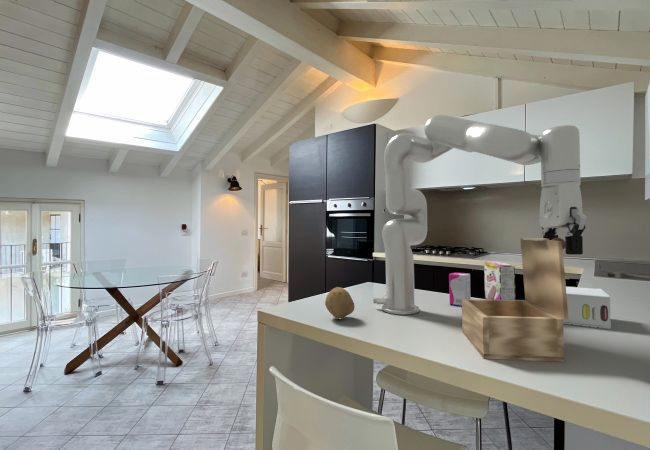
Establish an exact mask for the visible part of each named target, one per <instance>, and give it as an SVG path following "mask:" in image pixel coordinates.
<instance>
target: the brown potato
mask: <svg viewBox="0 0 650 450" xmlns="http://www.w3.org/2000/svg"><path fill="white" fill-rule="evenodd" d="M324 305H325V308H326V309H327V311H328V312H329V313H330V314H331V315H332V317H333V318H335V319H337V318H343V319H345V318H346V317H347V316H348V315H350V314H352V313H353V312H354V311H355V302H354V300H353V298H352V297H351V295H350V293H349V292H348V291H347V290H346V289H345V288H344V287H341V286H340V287H339V286H336V287H334V288H332V289H331V290H330V291H329V292H328V293H327V295H326V297H325V302H324Z"/></svg>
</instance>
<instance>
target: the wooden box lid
mask: <svg viewBox="0 0 650 450" xmlns="http://www.w3.org/2000/svg"><path fill="white" fill-rule="evenodd" d="M519 242H520V248H521V249H520V251H521V262H522V264H521V265H522V275H523V286H524V289H523V290H524V300H526V301H528V302H530V303H532V304H534V305H536V306H539V307H541V308H543V309H545V310H547V311H549V312H551V313H553V314H555V315H557V316H559V317H561V318H563V319H569V318H568V306H567V295H566V287H567V284H566V274H565V261H564V253H563V252H564V250H565V239H563V238H561V237H558V238H553V239H552V240H549V239H546V238H543V237H520V241H519Z"/></svg>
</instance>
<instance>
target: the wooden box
mask: <svg viewBox="0 0 650 450" xmlns="http://www.w3.org/2000/svg"><path fill="white" fill-rule="evenodd" d="M461 320H462V321H461V322H462V323H461V324H462V325H461V327H462V328H461V329H462V332H461V333H462V334H463V335H464V336H465V337H466V339H467V340H468V341H469V342H470V344H471V345H472V347H474V348H475V350H476V351H477V352H478V353H479V355H480V356H481V357H482V358H483V359H490V360H491V359H492V360H508V361H509V360H510V361H511V360H512V361H513V360H514V361H530V362H531V361H536V362H558V363H559V362H560V363H562V362H563V363H565V340H564V339H565V335H564V332H565V331H564V330H565V329H564V324H563V319H562V318H560V317H558V316H556V315H554V314H552V313H550V312H548V311H546V310H544V309H542V308H540V307H538V306H537V305H535V304H533V303H531V302H529V301H527V300H525V299H515V300H488V299H485V298H484V299H483V298H482V299H481V298H479V299H475V298H471V299H462V307H461Z"/></svg>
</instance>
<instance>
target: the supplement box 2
mask: <svg viewBox="0 0 650 450" xmlns="http://www.w3.org/2000/svg"><path fill="white" fill-rule="evenodd" d="M566 295H567V306H568V318H569V319H563V318H562V319H563V325H571V324H573V325H574V326H579V325H582V326H583V327H588V326H591V327H590V328H597V327H599V328H598V329H608V330H611V328H612V326H611V296H610V295H609V294H608V293H607V292H605V291H604V290H603V289H602V288H593V287H592V288H591V287H579V286H577V287H576V286H566ZM538 307H539V306H538ZM540 308H541V307H540ZM542 309H543V308H542ZM544 310H545V309H544ZM546 311H547V310H546ZM548 312H549V311H548ZM550 313H551V312H550ZM552 314H553V313H552ZM554 315H555V314H554ZM556 316H557V315H556ZM558 317H559V316H558ZM560 318H561V317H560ZM573 325H572V326H573ZM582 326H581V327H582Z"/></svg>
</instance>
